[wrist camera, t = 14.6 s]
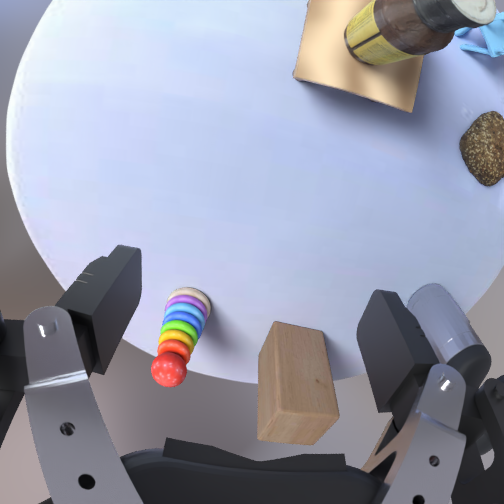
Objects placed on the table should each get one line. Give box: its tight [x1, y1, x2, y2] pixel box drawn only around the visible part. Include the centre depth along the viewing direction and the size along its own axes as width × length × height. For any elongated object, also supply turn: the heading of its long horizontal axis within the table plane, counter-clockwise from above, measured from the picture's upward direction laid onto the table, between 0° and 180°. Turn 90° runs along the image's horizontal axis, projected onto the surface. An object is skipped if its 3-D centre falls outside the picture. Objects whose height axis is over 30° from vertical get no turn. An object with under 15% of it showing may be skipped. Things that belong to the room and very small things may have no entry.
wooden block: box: [257, 321, 339, 445], centre depth 51 cm, size 10×10×20 cm
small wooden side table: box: [293, 0, 424, 113], centre depth 30 cm, size 14×14×10 cm
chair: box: [454, 12, 504, 57], centre depth 25 cm, size 8×8×12 cm
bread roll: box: [460, 111, 504, 186], centre depth 38 cm, size 13×12×5 cm
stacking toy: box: [151, 287, 211, 387], centre depth 47 cm, size 8×8×19 cm
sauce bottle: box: [344, 0, 496, 66], centre depth 17 cm, size 6×6×20 cm
